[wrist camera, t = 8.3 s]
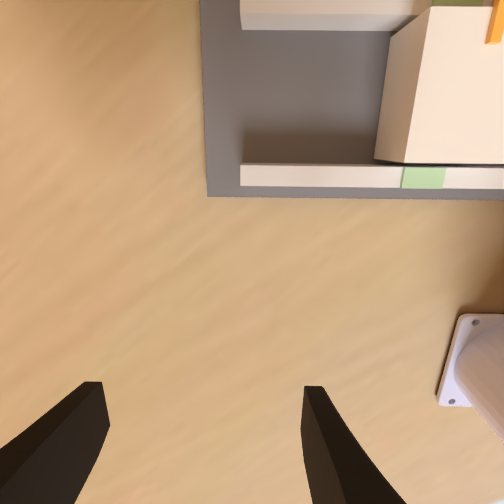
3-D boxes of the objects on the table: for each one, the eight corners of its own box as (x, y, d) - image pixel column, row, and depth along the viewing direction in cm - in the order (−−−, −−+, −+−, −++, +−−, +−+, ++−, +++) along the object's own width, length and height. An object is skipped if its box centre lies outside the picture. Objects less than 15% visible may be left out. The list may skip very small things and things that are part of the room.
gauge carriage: (563, 3, 14) (670, -45, 10) (517, 160, 17) (591, 165, 13) (395, 2, 14) (444, -47, 11) (373, 158, 17) (407, 163, 13)
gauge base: (645, -4, 15) (833, -75, 10) (571, 197, 18) (685, 217, 14) (202, -8, 15) (178, -79, 10) (210, 193, 19) (194, 211, 14)
